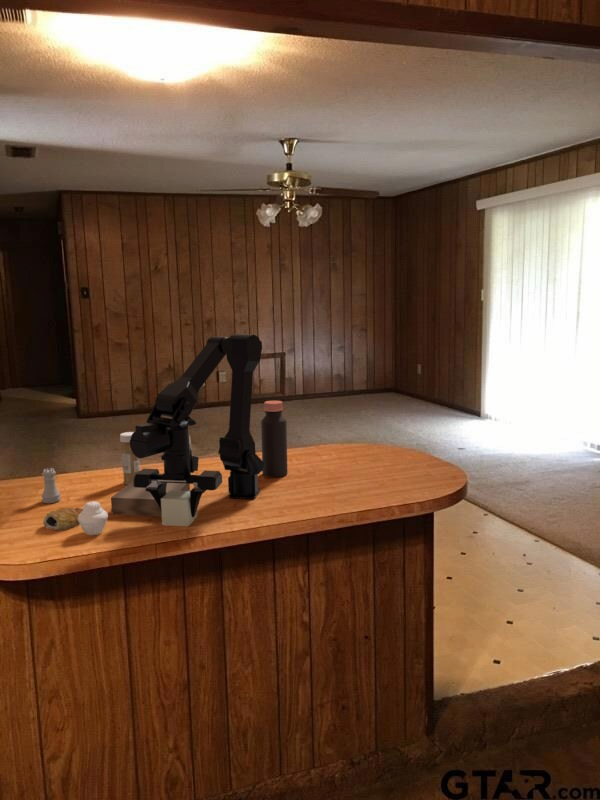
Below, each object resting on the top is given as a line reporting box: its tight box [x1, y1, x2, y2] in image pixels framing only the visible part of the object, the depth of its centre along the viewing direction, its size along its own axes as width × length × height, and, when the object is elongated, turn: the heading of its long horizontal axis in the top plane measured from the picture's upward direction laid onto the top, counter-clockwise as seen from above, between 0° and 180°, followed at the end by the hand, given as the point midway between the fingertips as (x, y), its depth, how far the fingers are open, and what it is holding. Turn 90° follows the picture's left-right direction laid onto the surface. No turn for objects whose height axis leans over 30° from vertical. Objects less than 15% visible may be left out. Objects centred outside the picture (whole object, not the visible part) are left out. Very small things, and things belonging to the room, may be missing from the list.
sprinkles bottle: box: [119, 431, 141, 486], centre depth 176 cm, size 5×5×14 cm
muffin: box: [78, 501, 109, 536], centre depth 143 cm, size 6×6×7 cm
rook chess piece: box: [41, 467, 62, 504], centre depth 164 cm, size 4×4×8 cm
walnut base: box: [110, 481, 191, 517], centre depth 160 cm, size 14×14×4 cm
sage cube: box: [161, 490, 198, 527], centre depth 149 cm, size 6×6×6 cm
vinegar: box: [260, 400, 288, 478], centre depth 181 cm, size 7×7×20 cm
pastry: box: [42, 507, 83, 531], centre depth 149 cm, size 9×7×4 cm
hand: (179, 516), depth 150 cm, fingers closed on sage cube, 6 cm apart
